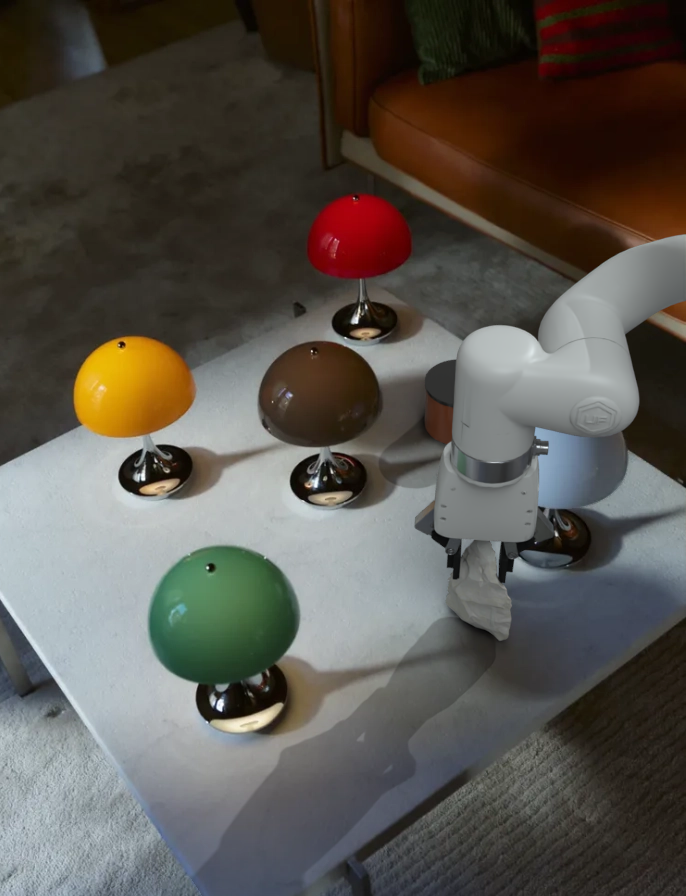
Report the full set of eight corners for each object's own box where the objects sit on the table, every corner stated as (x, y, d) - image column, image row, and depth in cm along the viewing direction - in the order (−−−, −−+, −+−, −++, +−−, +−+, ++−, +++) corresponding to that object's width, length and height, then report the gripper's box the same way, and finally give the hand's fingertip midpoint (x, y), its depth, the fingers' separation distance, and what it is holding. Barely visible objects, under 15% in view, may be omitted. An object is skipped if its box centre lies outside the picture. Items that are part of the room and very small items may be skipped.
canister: (492, 402, 136) (496, 360, 130) (491, 448, 129) (496, 406, 124) (425, 399, 137) (426, 357, 131) (420, 444, 130) (422, 402, 125)
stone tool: (436, 616, 110) (450, 528, 99) (451, 600, 112) (466, 512, 101) (499, 654, 106) (521, 567, 96) (513, 637, 108) (536, 550, 97)
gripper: (581, 426, 90) (557, 550, 104) (404, 418, 93) (403, 539, 106) (585, 482, 85) (559, 604, 99) (398, 472, 88) (398, 592, 101)
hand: (479, 570), depth 102 cm, fingers closed on stone tool, 4 cm apart
